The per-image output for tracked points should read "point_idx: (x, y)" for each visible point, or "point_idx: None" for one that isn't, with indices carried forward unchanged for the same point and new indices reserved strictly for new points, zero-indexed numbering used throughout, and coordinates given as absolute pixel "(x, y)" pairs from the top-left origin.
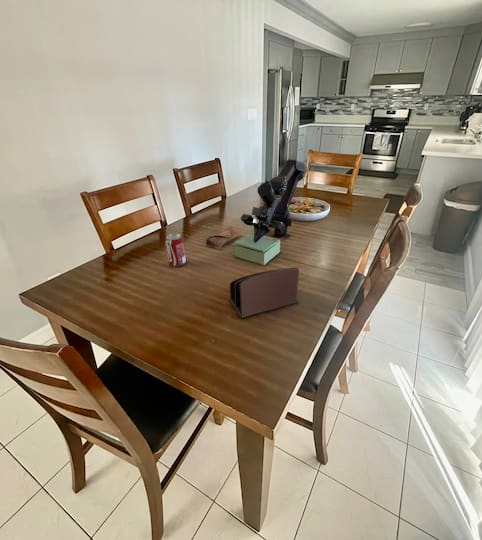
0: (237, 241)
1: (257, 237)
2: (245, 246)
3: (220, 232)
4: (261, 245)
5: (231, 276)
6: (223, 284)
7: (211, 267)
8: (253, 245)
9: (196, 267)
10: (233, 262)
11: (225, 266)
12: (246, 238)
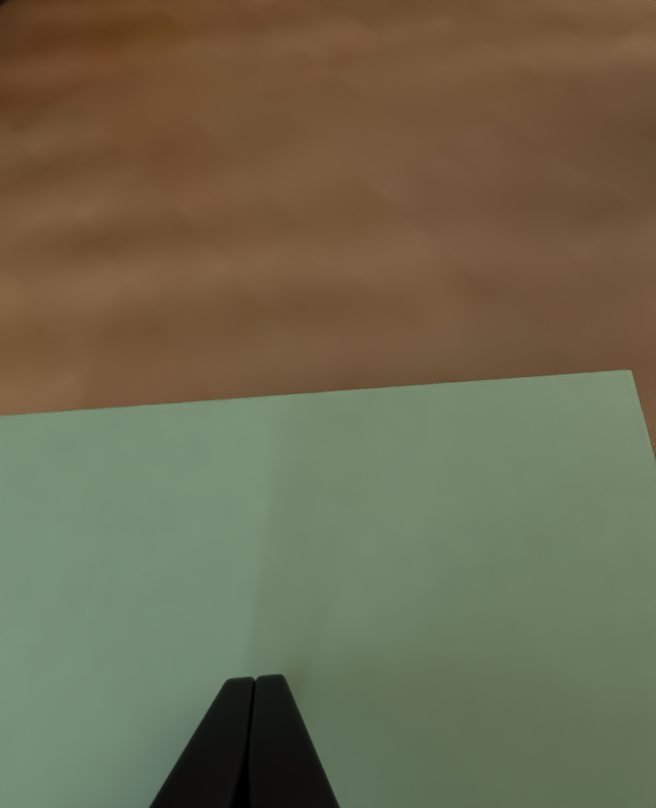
0: (622, 452)
1: (166, 784)
2: (327, 398)
3: None
4: (13, 644)
5: (253, 171)
6: (231, 62)
7: (541, 179)
8: (182, 507)
9: (649, 110)
10: (440, 382)
11: (443, 267)
12: (629, 794)
